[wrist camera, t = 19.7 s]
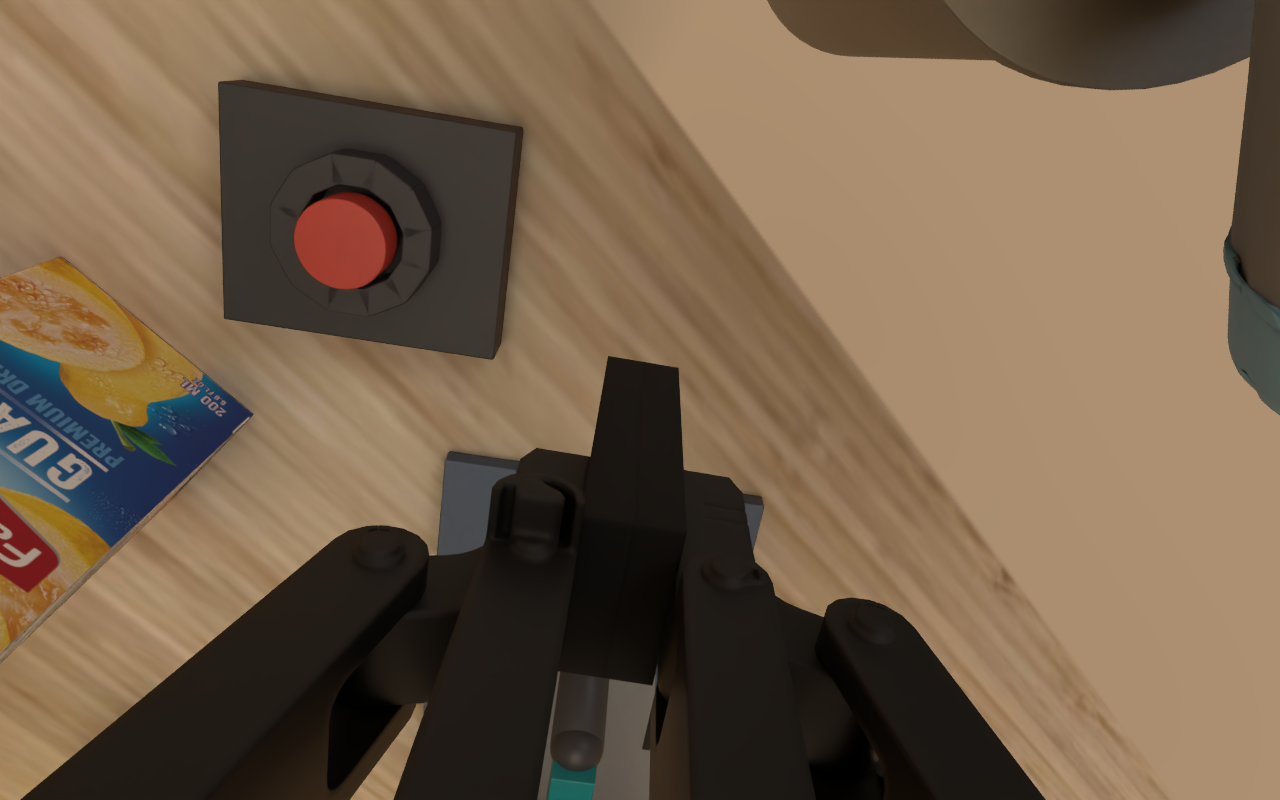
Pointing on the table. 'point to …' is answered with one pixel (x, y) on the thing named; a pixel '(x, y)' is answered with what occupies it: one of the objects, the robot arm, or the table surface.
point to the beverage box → (87, 436)
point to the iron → (597, 740)
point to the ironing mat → (472, 494)
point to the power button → (345, 240)
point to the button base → (401, 183)
